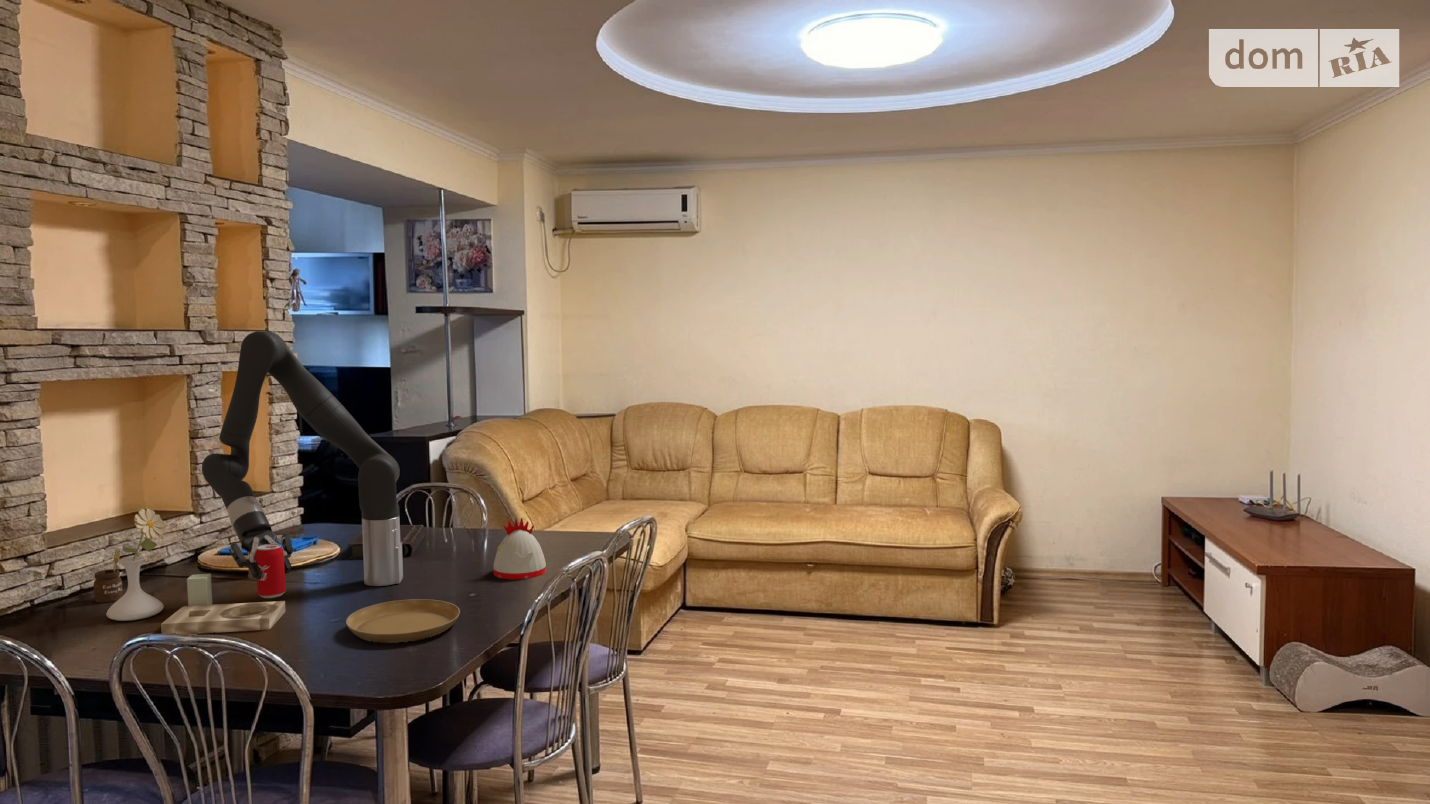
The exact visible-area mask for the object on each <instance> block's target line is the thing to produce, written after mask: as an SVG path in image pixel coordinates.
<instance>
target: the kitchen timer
mask: <svg viewBox="0 0 1430 804" xmlns="http://www.w3.org/2000/svg"><path fill="white" fill-rule="evenodd" d="M514 519H515V520H514V525H512V522H511V520H510V519H508V521H507V526H506V525H505V524H504V523H502V526H503V528H504V530H505V532H506V536H505V537H504V538H503V539H502V541H501V543H499V546H498V547H497V548H496V553H495V559H494V561H493V576H494V577H496V578H499V579H501V580H504V579H505V580H527V579H533V578H537V577H540V576H543V575H544V574H545V573H546V572H547V565H546V564H547V563H546V559H545V555H544V553H543V550H542V547H541V545H540V543H539V542H538V540H537V538H536V537H535V536H534V535H533V534H532V532H533V530H534V528H535V525H533V524H532V525H531V527H530V529H528V527H529V523H530V522H529V521H526V523H525V525H524V521H523V520H524V519H523V517H521V518H520V521H519V525H518V519H517V518H514Z"/></svg>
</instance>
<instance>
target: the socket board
mask: <svg viewBox="0 0 1430 804" xmlns="http://www.w3.org/2000/svg"><path fill="white" fill-rule="evenodd" d="M285 613H286V600H280V601H279V600H278V601H262V602H261V601H260V602H259V601H257V602H242V603H236V602H235V603H220V604H212V605H197V606H188V605H184V606H181V607H180V608H179V609H178V610H177V611H175V612H174V613H173V614H172V615H170V616H169V617H167V618H166V619H165V620H164V621H163V622H162V623H161V624H160V626H161V627H160V628H161V629H160V630H161V634H162V633H176V634H179V635H194V634H211V633H214V632H215V633H228V632H231V633H232V632H233V633H234V632H248V631H266V630H267V631H268V630H271V628H272V627H273V626H274V625H275V624H276V623H277V622H278V621H279V620H280V618H281V617H282V616H283V615H284V614H285ZM215 633H214V634H215Z"/></svg>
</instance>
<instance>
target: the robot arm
mask: <svg viewBox="0 0 1430 804" xmlns="http://www.w3.org/2000/svg"><path fill="white" fill-rule="evenodd" d="M241 341H242V342H241V345H240V351H239V358H238V365H237V373H236V376H235V377H236V378H235V382H234V387H233V392H232V396H231V398H230V401H229V404H228V408H227V411H226V415H225V417H224V420H223V424H222V427H221V430H220V433H219V441H220V443H222V444H223V445H225V446H228V447H230V454H227V453H216V452H215V453H211V454H208V455H207V456H205V458H204V459H203V461H202V463H201V473H202V475H203V478H204V480H205V481H206V482H207V483H208V485H209V486H210V487H211V489H212V490H213V491H214V492H215V493H216V494H217V495H218V496H219V497H220V498H221V500H222V502H223V504H224V506H225V510H226V511H227V515H228V517H229V520H230V524H231V525H232V527H233V529H234V532H235V534H236V536H237V539H238V541H239V542H235V541H232V542H231V544H230V546H229V549H228V552H229V553H230V555H231V557H232V558H233V560H234V562H235V563H236V565H237V566H238V568H239V569H240V568H241V569H242V568H246V567H247V569H248V568H249V569H248V571H249V570H250V572H251V574H252V576H253V577H254V578H253V579H255V580H256V581H257V580H259V579H261V577H262V573H261V571H260V568H259V566H258V564H257V562H255V553H256V551H257V547H259V546H261V545H266V544H280V545H281V547H282V549H283V551H284V564H285V575H286V574H289V573H290V571H291V569H292V563H291V561H290V558H291V556H292V554H293V552H294V547H293V544H292V541H291V539H290V535H289V533H288V532H283V534H278V535H277V534H275V533H274V532H273V529H272V526H271V524H270V522H269V519H268V518H267V516H266V514H265V511H264V509H263V507H262V505H261V504H260V502H259V501H258V499H257V497H256V495H255V493H254V490H253V487H252V486H250V484H249V482H247V481H244V479H245V478H246V476H247V474H248V473H249V469H250V442H251V438H252V435H253V432H254V430H255V426H256V423H257V418H258V414H259V407H260V398H261V391H262V387H263V385H264V383H265V382H264V381H265V378H266V377H267V375H268V374H269V375H270V376H271V377H273V379H274V380H275V381H277V382H278V384H279V385H280V386H281V387H282V388H283V390H284V391H285V392H286V394H287V396H288V397H289V400H290V401H291V404H292V406H294V408H295V409H296V411H297V413H298V414H299V415H300V416H301V417H302V418H303V420H304V421H305V422H306V423H307V424H308V425H309V426H310V427H311V428H312V429H313V430H314V431H315V432H316V433H317V434H318V435H319V436H320V437H322V438H323V439H325V440H326V441H328V442H329V443H331V444H332V445H334V446H335V447H336V448H338V449H340V450H341V452H344V453H345V454H346V455H347V456H348V457H349V458H350V459H351V461H353V462H354V464H355V465H356V467H357V468H358V469H359V470H358V475H357V476H358V477H357V483H358V500H359V508H360V511H361V527H362V528H361V529H362V531H363V581H364V584H365V585H366V586H371V587H382V586H383V587H384V586H390V585H396V584H397V585H398V584H400V583H401V582H402V580H403V579H404V567H403V553H402V543H401V542H400V525H401V524H400V522H401V521H400V505H399V503H398V497H397V481H398V480H399V478H400V475H401V474H400V472H401V471H400V465H399V463H398V461H397V460H396V459H395V458H394V457H393V456H392V455H391V454H389V453H388V452H387V451H386V450H385V449H384V448H382V447H381V446H380V445H379V444H378V443H377V442H376V441H375V440H373V439H372V438H371V437H370V436H369V435H368V433H366V431H365V430H364V428H362V426H361V425H360V424H359V422H358V421H357V420H356V419H355V418H354V417H353V415H352V414H351V413H350V412H349V411H348V409H346V407H345V406H344V405H343V404H342V403H341V402H340V401H339V400H338V399H337V398H336V397H335V396H334V394H332V392H331V391H330V390H328V388H326V387H325V386H324V385H323V384H322V382H320V381H319V379H317V377H315V376H314V375H313V374H312V373H310V371H308V369H306V367H305V366H304V365H303V364H302V363H301V361H300V360H299V359H298V358H297V356H296V355H295V353H294V352H293V351H292V350H291V348H290V347H289V346H288V345H287V343H286V342H285V341H284V339H283V338H282V337H281V336H279V334H277V333H276V332H273V331H269V330H268V331H267V330H259V331H253V332H251V333H249V334H247V335H246V336H245V337H244V338H243V340H241ZM362 531H361V532H362ZM277 541H278V542H277ZM242 549H243V550H245V552H247V551H248V552H249V555H248V554H247V558H246V556H245V555H244V553H243V551H242Z"/></svg>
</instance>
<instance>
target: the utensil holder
mask: <svg viewBox="0 0 1430 804" xmlns="http://www.w3.org/2000/svg"><path fill="white" fill-rule="evenodd" d="M120 556H121V549H120V548H115V552H114V555H113V562H114V564H113V565H114V566H113V569H109V568H108V569H103V568H101V569H98V570H97V568H100V567H104V565H105V561H104V558H101V557H96V558H94V560H93V562H94V563H93V564H92V565H93V568H94V571H95V573H94V579H95V580H94V582H93V596H94V597H93V598H94V601H95V602H96V603H98V604H99V603H102V604H103V603H104V604H105V603H112V602H116V601H118V600H119V599H120V598H121V597H122V596H123V581H122V578H121V577H120V573H121V572H120V570H119V569H116V568H117V564H118V562H120ZM100 559H101V560H100ZM95 560H98V561H99V562H98V561H97V563H96V561H95ZM101 561H102V564H100V567H99V565H96V564H98V563H101ZM101 565H102V566H101Z"/></svg>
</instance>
